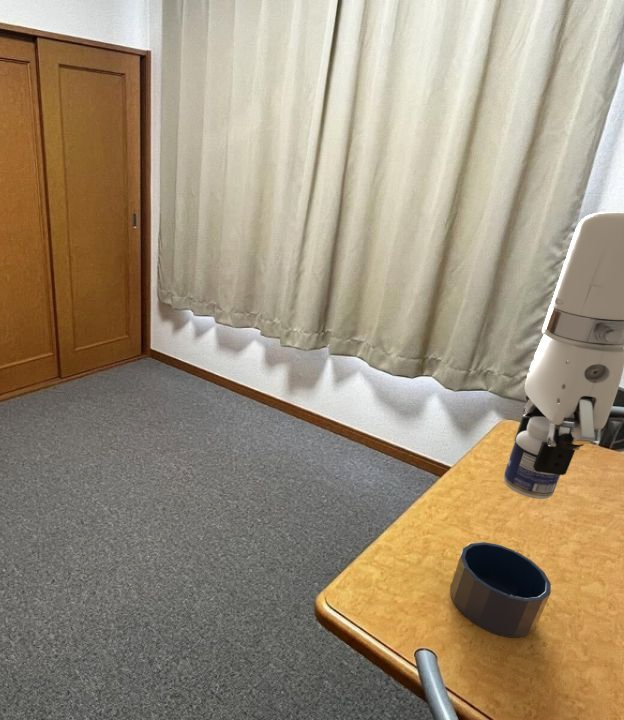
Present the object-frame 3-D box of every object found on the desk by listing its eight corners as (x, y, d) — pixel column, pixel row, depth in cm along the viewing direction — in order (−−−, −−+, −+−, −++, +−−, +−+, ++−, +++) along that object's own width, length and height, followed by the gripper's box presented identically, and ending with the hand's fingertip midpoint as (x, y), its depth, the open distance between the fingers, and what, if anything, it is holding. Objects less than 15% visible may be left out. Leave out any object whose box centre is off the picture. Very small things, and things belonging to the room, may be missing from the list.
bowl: (517, 585, 66) (531, 550, 64) (548, 646, 58) (565, 609, 56) (441, 570, 69) (452, 536, 66) (461, 627, 61) (474, 590, 58)
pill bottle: (507, 469, 67) (527, 409, 63) (555, 487, 63) (580, 423, 59) (497, 487, 63) (518, 424, 60) (548, 506, 60) (574, 440, 56)
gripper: (680, 357, 46) (610, 506, 53) (588, 306, 61) (543, 428, 68) (585, 349, 48) (530, 494, 55) (519, 302, 63) (483, 421, 70)
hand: (538, 456), depth 61 cm, fingers closed on pill bottle, 5 cm apart
